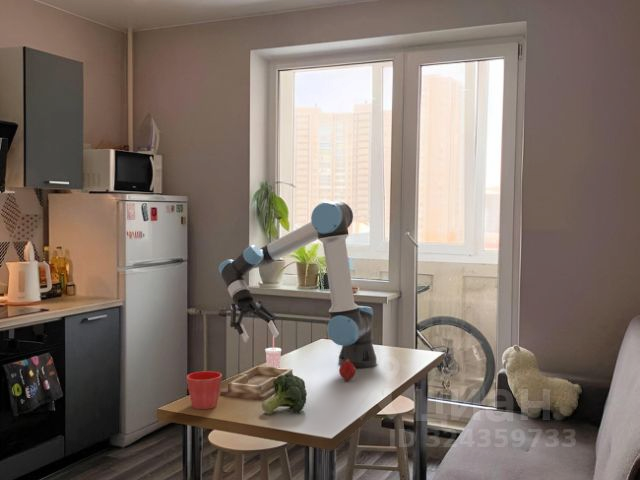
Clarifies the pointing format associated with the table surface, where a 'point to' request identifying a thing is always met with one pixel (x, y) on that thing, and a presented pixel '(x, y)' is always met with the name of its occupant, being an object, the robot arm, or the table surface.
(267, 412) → the vegetable
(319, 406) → the table surface
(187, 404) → the table surface
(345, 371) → the pomegranate
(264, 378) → the light brown wooden tray
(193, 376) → the flower pot
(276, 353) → the beverage cup
